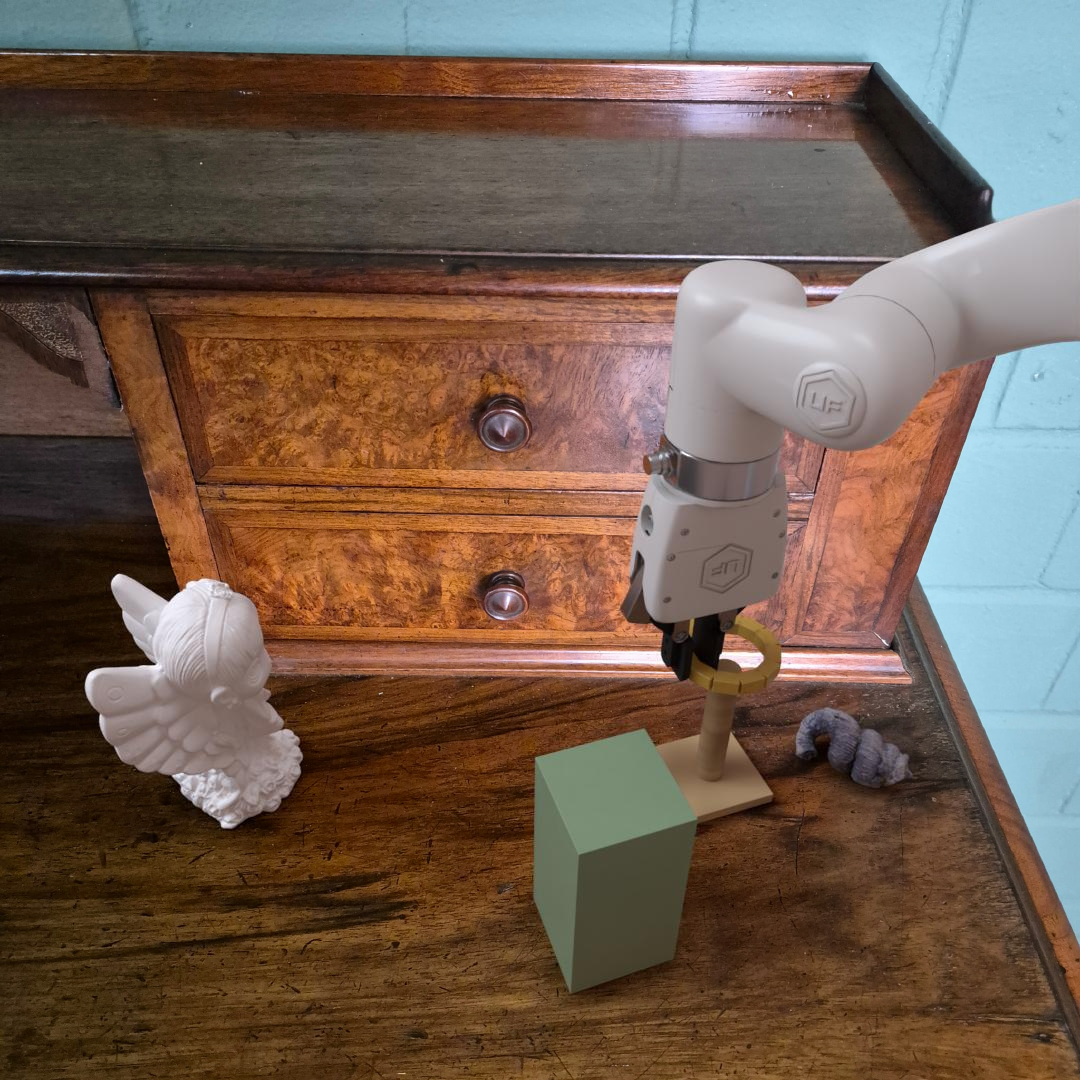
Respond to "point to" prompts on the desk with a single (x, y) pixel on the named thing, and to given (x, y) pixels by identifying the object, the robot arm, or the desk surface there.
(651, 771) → the stand
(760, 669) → the ring
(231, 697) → the cherub figurine
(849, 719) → the seashell
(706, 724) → the post
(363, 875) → the desk surface
